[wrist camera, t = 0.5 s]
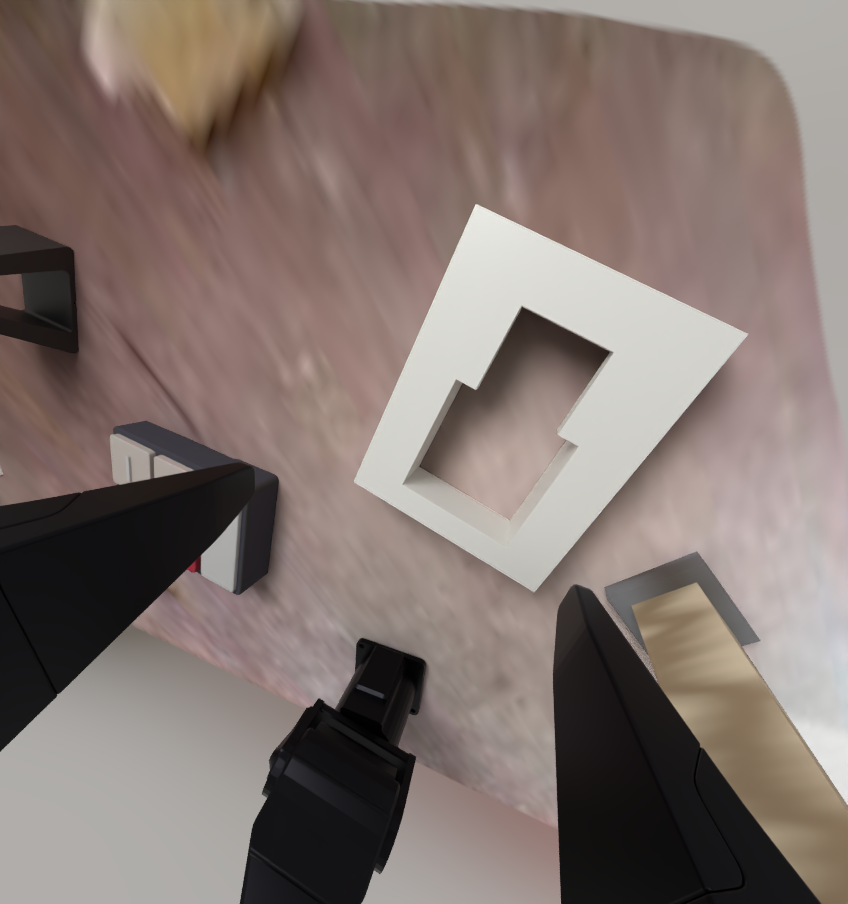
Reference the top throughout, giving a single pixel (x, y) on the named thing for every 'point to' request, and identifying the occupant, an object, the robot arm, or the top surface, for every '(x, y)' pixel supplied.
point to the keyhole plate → (589, 421)
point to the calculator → (167, 453)
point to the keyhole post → (738, 715)
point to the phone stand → (40, 289)
